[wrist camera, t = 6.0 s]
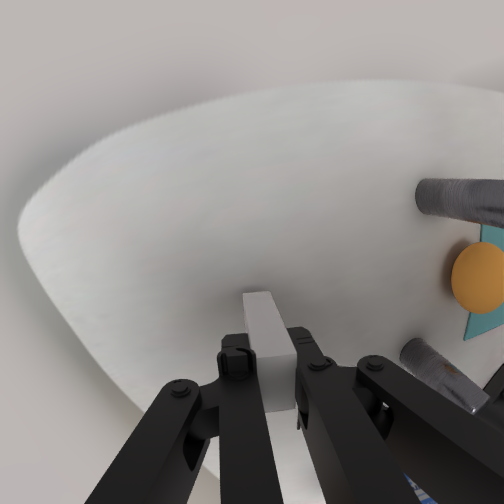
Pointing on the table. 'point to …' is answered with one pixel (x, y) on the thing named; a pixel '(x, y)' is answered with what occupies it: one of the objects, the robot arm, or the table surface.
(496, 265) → the ball
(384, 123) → the table surface
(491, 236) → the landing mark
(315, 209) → the table surface
